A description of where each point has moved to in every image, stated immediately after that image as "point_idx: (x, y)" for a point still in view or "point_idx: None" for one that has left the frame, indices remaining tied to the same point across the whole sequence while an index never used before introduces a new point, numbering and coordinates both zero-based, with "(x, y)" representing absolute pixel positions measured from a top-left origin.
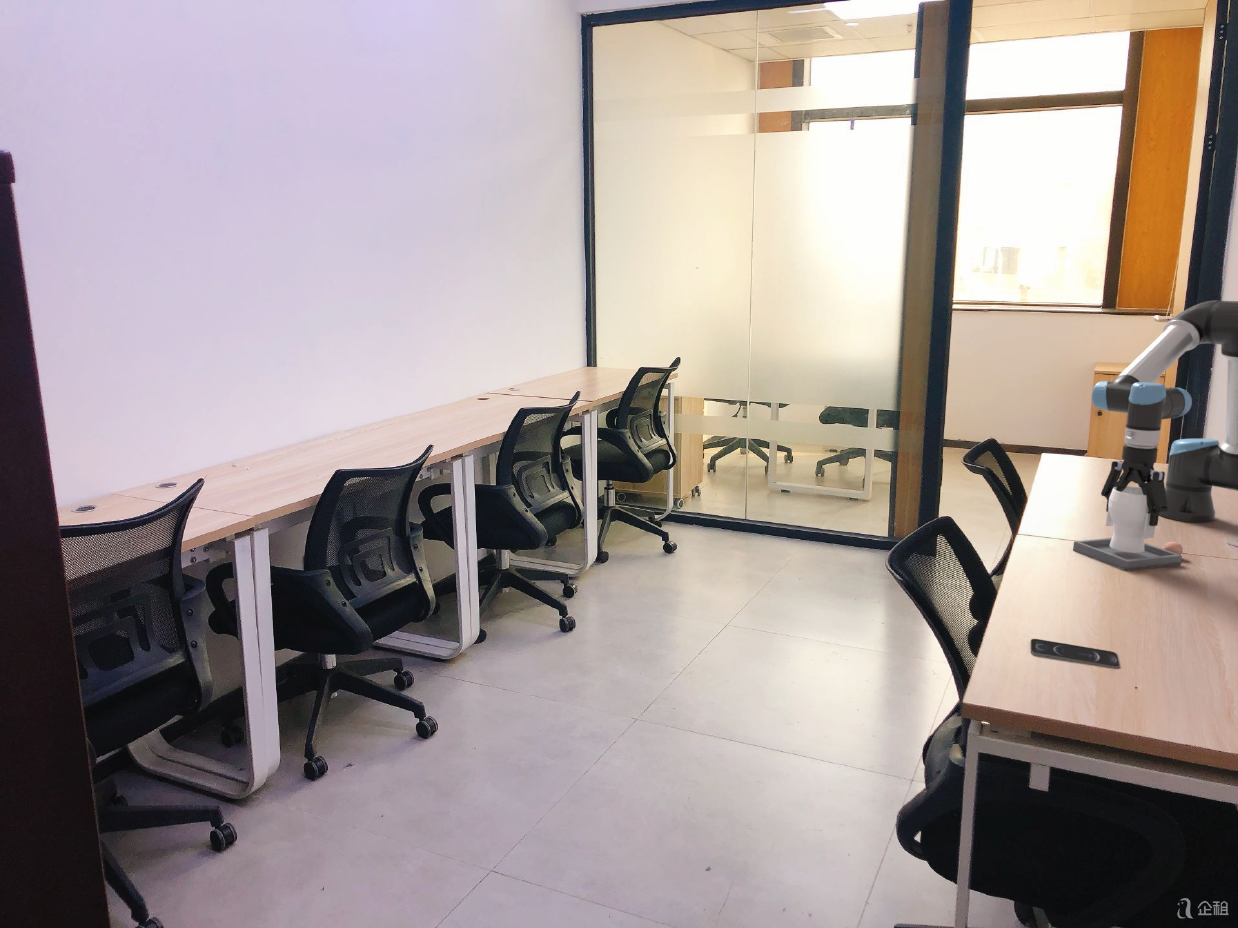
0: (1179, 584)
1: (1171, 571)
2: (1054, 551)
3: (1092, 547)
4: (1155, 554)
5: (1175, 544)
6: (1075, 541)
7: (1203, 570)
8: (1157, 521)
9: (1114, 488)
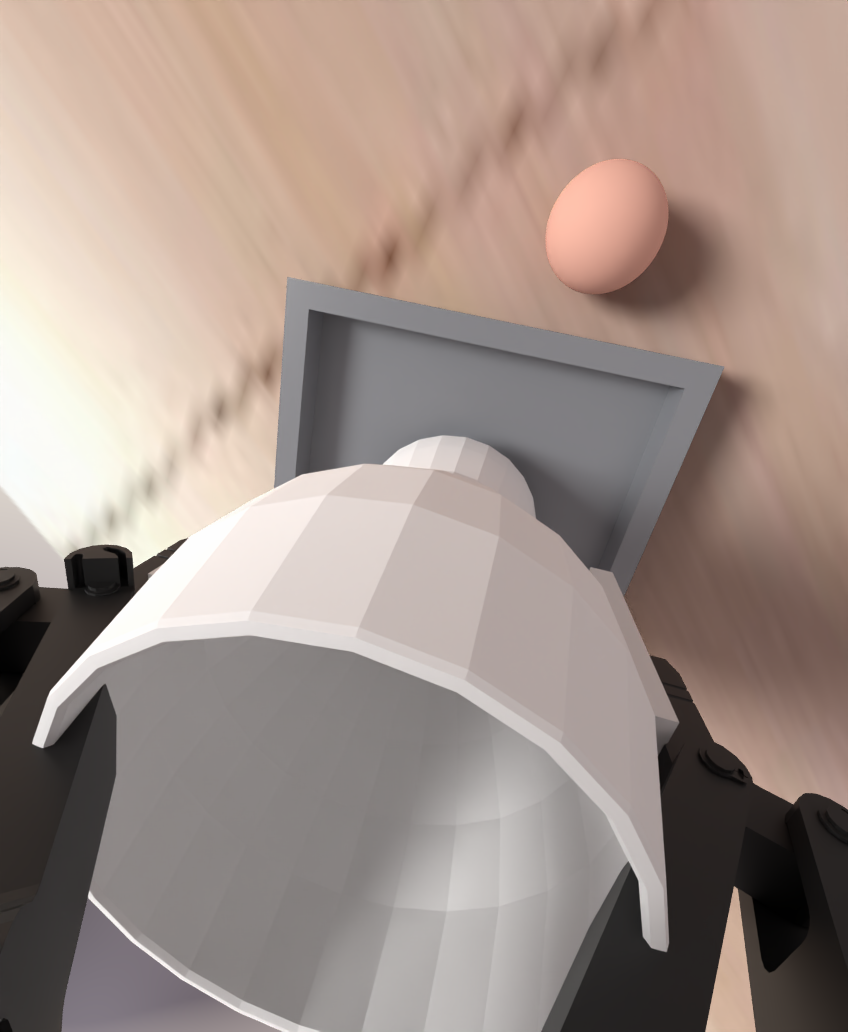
0: (813, 674)
1: (709, 524)
2: None
3: None
4: (539, 363)
5: (634, 247)
6: None
7: (844, 343)
8: (685, 697)
9: (125, 919)
